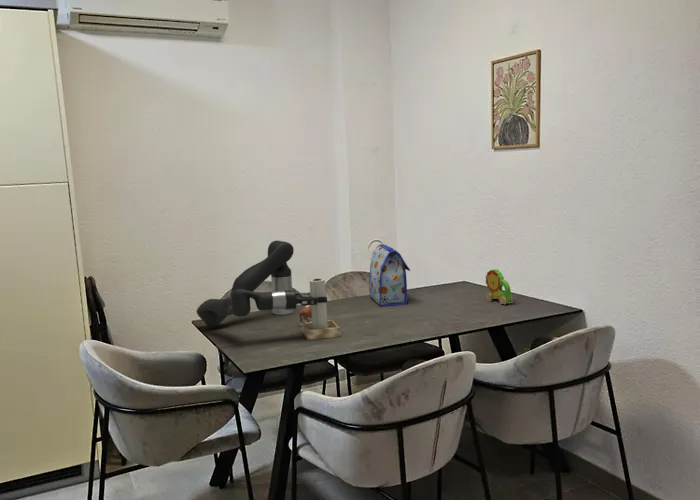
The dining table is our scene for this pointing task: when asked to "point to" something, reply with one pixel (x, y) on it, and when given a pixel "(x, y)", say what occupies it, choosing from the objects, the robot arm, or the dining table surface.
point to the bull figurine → (305, 314)
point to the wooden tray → (321, 331)
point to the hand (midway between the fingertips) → (324, 297)
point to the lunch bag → (388, 277)
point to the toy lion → (498, 287)
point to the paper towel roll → (320, 309)
